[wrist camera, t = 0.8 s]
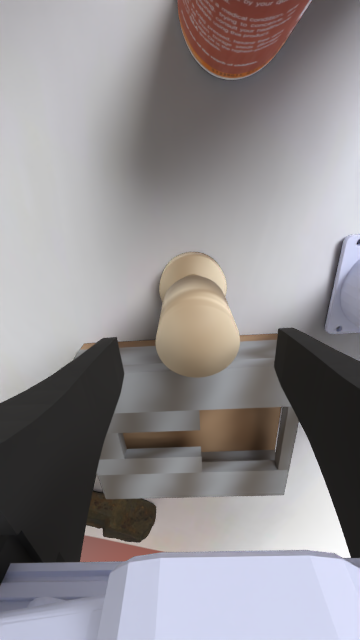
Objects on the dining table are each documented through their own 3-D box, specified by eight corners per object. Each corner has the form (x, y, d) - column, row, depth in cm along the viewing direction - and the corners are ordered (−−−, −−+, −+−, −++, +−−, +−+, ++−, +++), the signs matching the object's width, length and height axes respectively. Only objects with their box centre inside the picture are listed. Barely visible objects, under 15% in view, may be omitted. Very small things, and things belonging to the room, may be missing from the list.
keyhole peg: (224, 249, 19) (254, 291, 11) (223, 310, 21) (247, 383, 13) (157, 254, 19) (137, 298, 11) (164, 313, 21) (151, 387, 13)
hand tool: (12, 481, 33) (-13, 523, 29) (14, 463, 31) (-12, 505, 27) (150, 511, 36) (145, 553, 32) (159, 497, 34) (155, 539, 30)
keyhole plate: (286, 333, 22) (310, 364, 18) (270, 453, 29) (283, 495, 25) (84, 343, 23) (62, 375, 19) (116, 457, 30) (105, 499, 26)
